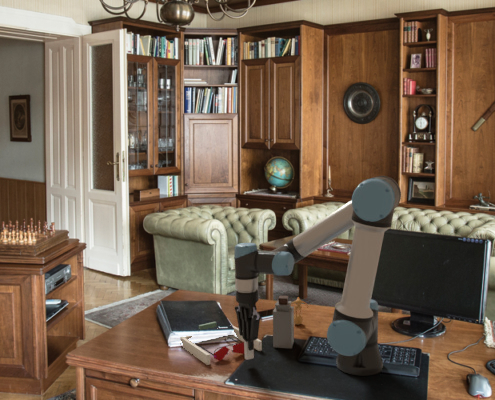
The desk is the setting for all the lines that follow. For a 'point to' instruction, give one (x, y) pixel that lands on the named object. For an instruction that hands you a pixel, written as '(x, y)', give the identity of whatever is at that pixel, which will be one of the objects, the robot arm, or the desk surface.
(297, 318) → the figurine
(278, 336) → the perfume bottle
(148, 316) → the desk surface
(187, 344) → the display cradle
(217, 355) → the glasses
